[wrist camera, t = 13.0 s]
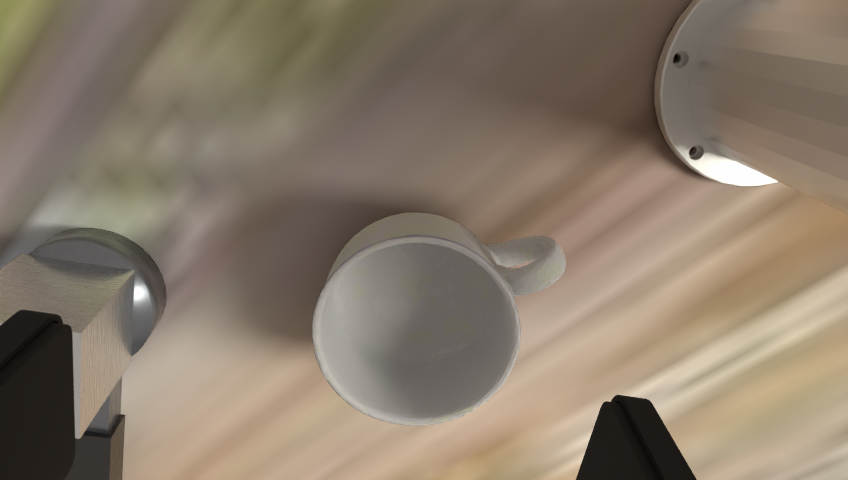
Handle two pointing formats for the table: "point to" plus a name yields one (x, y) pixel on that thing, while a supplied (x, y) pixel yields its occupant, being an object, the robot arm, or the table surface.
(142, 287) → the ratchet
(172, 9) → the table surface
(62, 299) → the wood-topped grey cube
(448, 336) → the teacup
